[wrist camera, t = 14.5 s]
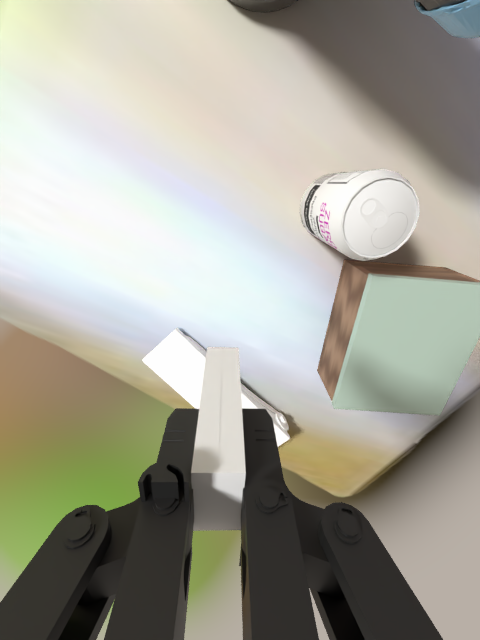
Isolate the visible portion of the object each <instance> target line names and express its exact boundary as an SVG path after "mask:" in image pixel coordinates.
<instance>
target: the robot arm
mask: <svg viewBox="0 0 480 640" xmlns="http://www.w3.org/2000/svg"><path fill="white" fill-rule="evenodd" d="M230 1H231V2H233V3H234V4H236V5H238V6H240V7H242V8H244V9H247V10H250V11H255V12H272V11H276V10H280V9H283V8H285V7H287V6H289V5H291V4H293V3H294V2H296V1H297V0H230ZM414 4H415V7H416V8H417V9H418V11H419V12H420V13H422V14H425V15H427V16H430V17H432V18H433V19H434V20H435V21H436V22H437V23H438V24H439V25H440V26H441V27H443V28H444V29H445V30H446V31H447V32H448V33H449V34H450V35H452V36H454V37H458V38H461V37H463V38H477V37H480V0H415V1H414ZM138 486H139V491H140V498H138V499H137V500H135V501H134V502H132V503H130V504H127V505H125V506H122V507H119V508H116V509H113V510H110V511H107V512H105V510H104V509H103V508H101V507H99V506H97V505H86V506H83V507H79V508H77V509H75V510H73V511H72V512H70V513H69V514H67V515H66V516H65V517H64V518H63V519H62V520H61V521H60V522H59V523H58V524H57V526H56V527H55V528H54V530H53V531H52V532H51V534H50V535H49V536H48V538H47V539H46V541H45V542H44V543H43V545H42V546H41V548H40V549H39V550H38V552H37V553H36V555H35V556H34V557H33V558H32V560H31V562H30V563H29V564H28V565H27V567H26V568H25V570H24V571H23V572H22V574H21V575H20V576H19V578H18V579H17V580H16V582H15V583H14V585H13V586H12V588H11V589H10V590H9V591H8V593H7V594H6V596H5V597H4V598H3V600H2V601H1V602H0V640H96V639H97V636H98V634H99V632H100V630H101V628H102V626H103V623H104V621H105V619H106V617H107V615H108V612H109V610H110V608H111V606H112V604H113V602H114V604H113V608H112V612H111V616H110V619H109V623H108V627H107V630H106V634H105V638H104V640H184V633H185V621H186V612H187V601H188V591H189V581H190V570H191V559H192V536H193V531H197V530H198V531H200V530H241V553H240V565H239V566H241V583H242V584H241V585H242V620H243V640H319V638H318V633H317V628H316V622H315V617H314V612H313V607H312V602H311V597H310V591H309V588H310V590H311V593H312V595H313V598H314V600H315V603H316V606H317V608H318V611H319V613H320V616H321V618H322V621H323V624H324V626H325V629H326V631H327V634H328V637H329V639H330V640H443V639H442V638H441V635H440V634H439V632H438V631H437V629H436V628H435V626H434V624H433V623H432V621H431V620H430V618H429V616H428V615H427V613H426V612H425V610H424V609H423V607H422V605H421V604H420V602H419V601H418V599H417V597H416V596H415V595H414V593H413V591H412V590H411V588H410V587H409V585H408V584H407V582H406V580H405V579H404V577H403V575H402V574H401V572H400V571H399V569H398V567H397V566H396V564H395V563H394V561H393V559H392V558H391V556H390V555H389V553H388V552H387V550H386V548H385V547H384V545H383V544H382V542H381V541H380V539H379V537H378V536H377V534H376V533H375V531H374V530H373V528H372V526H371V525H370V523H369V521H368V520H367V519H366V518H365V517H364V515H363V514H362V513H361V512H360V511H359V510H357V509H356V508H354V507H353V506H351V505H348V504H345V503H342V502H341V503H332V504H330V505H329V506H327V507H326V508H325V509H322V508H319V507H316V506H314V505H310V504H308V503H305V502H303V501H301V500H299V499H298V498H296V497H295V496H294V495H293V494H292V493H291V492H290V491H289V489H288V488H287V486H286V484H285V482H284V478H283V474H282V468H281V463H280V457H279V452H278V446H277V442H276V435H275V432H274V424H273V419H272V417H271V416H270V414H269V413H268V412H267V410H266V409H245V408H242V399H241V382H240V365H239V348H228V347H207V353H206V361H205V369H204V377H203V384H202V392H201V400H200V407H199V409H175V410H174V411H173V413H172V414H171V415H170V417H169V418H168V420H167V424H166V428H165V432H164V435H163V440H162V443H161V447H160V451H159V455H158V459H157V463H155V464H153V465H151V466H150V467H149V468H148V469H147V470H146V471H145V472H143V474H142V475H141V477H140V479H139V481H138ZM114 599H115V601H114Z"/></svg>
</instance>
